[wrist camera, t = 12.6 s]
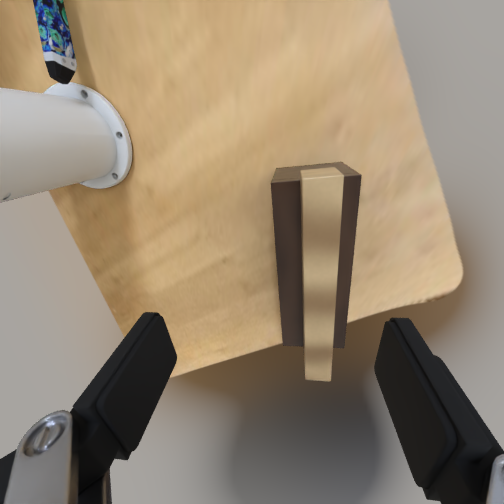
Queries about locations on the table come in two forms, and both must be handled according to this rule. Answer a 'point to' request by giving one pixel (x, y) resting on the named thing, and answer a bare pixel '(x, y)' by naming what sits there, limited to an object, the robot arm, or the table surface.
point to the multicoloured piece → (56, 39)
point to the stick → (320, 265)
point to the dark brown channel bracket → (290, 249)
